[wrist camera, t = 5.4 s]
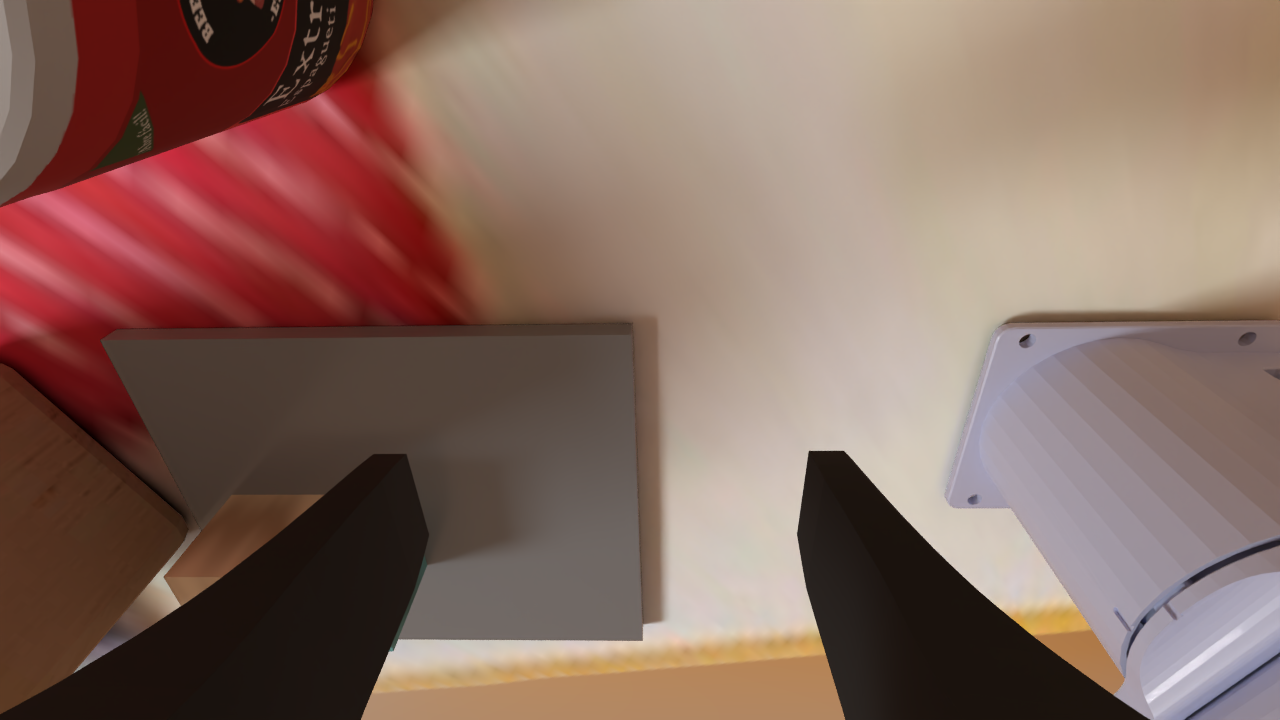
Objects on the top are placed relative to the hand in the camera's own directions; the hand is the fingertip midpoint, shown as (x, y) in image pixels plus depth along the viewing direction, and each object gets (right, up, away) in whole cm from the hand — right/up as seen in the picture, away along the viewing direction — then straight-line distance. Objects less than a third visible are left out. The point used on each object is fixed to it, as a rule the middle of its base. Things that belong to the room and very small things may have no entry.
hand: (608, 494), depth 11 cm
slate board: (-9, -3, +14) cm, 17 cm away
